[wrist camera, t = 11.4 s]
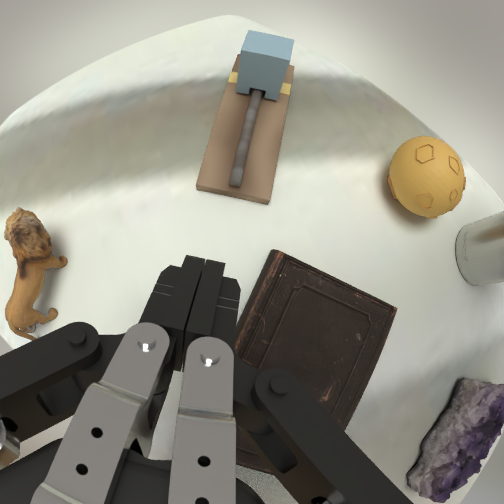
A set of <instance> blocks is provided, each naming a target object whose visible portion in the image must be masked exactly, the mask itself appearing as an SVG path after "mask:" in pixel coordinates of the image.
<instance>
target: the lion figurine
mask: <svg viewBox="0 0 504 504" xmlns="http://www.w3.org/2000/svg"><path fill="white" fill-rule="evenodd" d="M4 234H5V235H4V238H5V240H8V241H9V243H10V245H11V247H12V248H13V256H14V257H15V258H16V260H17V265H18V269H17V274H16V278H15V283H14V289H13V293H12V295H11V297H10V299H9V301H8V303H7V305H6V308H5V317H6V320H7V321H8V324H9V327H10V329H11V330H12V331H13V332H14V333H15V334H17V335H19V336H21V337H24V338H27V339H30V340H32V341H34V340H36V338H35V337H33V336H31V335H29V334H27V333H32V332H33V331H34V330H35V323H40V324H45V323H46V322H48V321H50V320H53V319H55V318H56V317H57V314H58V313H57V310H56V309H54V308H50V309H49V312H48V314H47V315H46V316H43V315H41V314H40V313H39V312H38V311H36V310H34V309H33V304H34V302H35V301H36V299H37V298H38V296H39V294H40V293H41V290H42V287H43V283H44V276H45V270H47V269H49V268H61V267H64V266H65V265H66V264H67V259H66V257H64V256H60V257H59V259H57V258H56V257H55V256H53V255H51V253H52V247H53V246H52V244H51V242H50V239H51V238H50V236H49V234H48V233H47V231H46V230H45V229H44V226H43V224H42V223H41V221H40V220H39V219H37V217H36V215H35V214H34V213H33V212H30V211H25V210H23V209H21V208H20V207H18V208H17V210H16V212H13V213H12V215H11V216H10V217H9V218H8V219H7V221H6V230H5V231H4ZM19 328H20V329H19ZM25 332H26V333H25Z"/></svg>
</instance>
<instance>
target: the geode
mask: <svg viewBox="0 0 504 504" xmlns="http://www.w3.org/2000/svg"><path fill="white" fill-rule="evenodd" d="M503 424H504V384H498V385H496V384H492V383H491V382H478V381H477V380H473V379H465V378H462V379H461V381H460V382H459V384H458V386H457V387H456V390H455V393H454V396H453V398H452V400H451V403H450V405H449V408H448V409H447V410H446V411H445V412H444V413H443V414H442V415H441V417H440V418H439V420H438V422H437V423H436V425H435V426H434V427H433V428H432V430H431V431H430V432H429V433H428V434H427V435H426V437H425V438H424V440H423V443H422V454H421V456H420V458H419V460H418V462H417V464H416V466H415V467H414V468H413V469H411V470H410V471H409V472H408V473H407V474H406V476H407V485H408V486H410V488H411V489H412V490H414V491H415V492H418V493H419V496H422V497H425V498H429V499H431V500H432V501H433V502H440V503H444V502H445V501H446V500H447V499H449V498H450V493H452V492H453V491H454V490H455V491H456V490H457V489H459V488H461V487H462V486H464V485H465V484H466V483H467V482H468V481H467V479H468V478H469V477H471V476H472V475H473V474H474V473H479V472H480V468H481V466H482V465H481V464H480V459H485V458H486V457H487V455H488V452H489V449H490V448H491V447H492V444H493V443H494V442H495V440H496V438H497V436H499V435H501V428H502V426H503Z"/></svg>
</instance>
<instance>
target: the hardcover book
mask: <svg viewBox="0 0 504 504" xmlns="http://www.w3.org/2000/svg"><path fill="white" fill-rule="evenodd" d="M397 309H398V308H396V307H394V306H392V305H390V304H388V303H386V302H384V301H382V300H380V299H378V298H376V297H374V296H372V295H370V294H368V293H366V292H363V291H361V290H359V289H357V288H355V287H353V286H351V285H349V284H347V283H345V282H343V281H341V280H339V279H337V278H335V277H333V276H331V275H329V274H327V273H325V272H323V271H321V270H318V269H316V268H314V267H312V266H310V265H308V264H306V263H304V262H302V261H300V260H298V259H296V258H294V257H292V256H289V255H287V254H285V253H283V252H281V251H279V250H275V249H273V250H271V252H270V254H269V256H268V258H267V260H266V263H265V265H264V267H263V269H262V271H261V274H260V276H259V278H258V280H257V282H256V285H255V287H254V289H253V291H252V293H251V295H250V298H249V300H248V302H247V304H246V306H245V308H244V311H243V313H242V315H241V317H240V319H239V321H238V324H237V326H236V330H235V338H234V349H235V352H236V354H237V355H238V357H239V358H240V359H241V360H242V361H243V362H244V363H246V364H247V365H249V366H251V367H253V368H255V369H258V370H260V371H262V372H263V371H264V370H267V369H271V368H280V369H284V370H286V371H288V372H290V373H292V374H293V375H294V376H295V377H296V378H297V379H298V380H299V381H300V383H301V384H302V385H303V386H304V387H305V388H306V389H307V391H308V392H309V393H310V394H311V395H312V396H313V397H314V399H315V400H316V401H317V402H318V403H319V404H320V405H321V407H322V408H323V409H324V410H325V411H326V412H327V413H328V414H329V416H330V417H331V418H332V419H333V420H334V421H335V422H336V423H337V424H338V425H339V427H340V428H341V429H342V430H343V431H345V429H346V427H347V425H348V423H349V421H350V419H351V417H352V415H353V413H354V411H355V409H356V407H357V405H358V403H359V401H360V399H361V397H362V395H363V393H364V391H365V389H366V387H367V384H368V382H369V380H370V378H371V375H372V373H373V371H374V369H375V366H376V364H377V361H378V359H379V357H380V354H381V352H382V349H383V347H384V344H385V342H386V339H387V336H388V334H389V331H390V328H391V326H392V323H393V320H394V317H395V315H396V312H397ZM236 464H237V465H240V466H243V467H246V468H250V469H253V470H256V471H260V472H264V473H267V474H271V475H274V474H273V473H272V471H271V470H270V469H269V468H268V466H267V465H266V464H265V463H264V461H263V460H262V459H261V458H260V456H259V455H258V454H257V452H256V451H255V450H254V448H253V447H252V446H251V444H250V443H249V442H248V440H247V439H246V438H245V436H244V435H243V434H242V432H241V431H240V429H239V427H238V426H237V425H236Z"/></svg>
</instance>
